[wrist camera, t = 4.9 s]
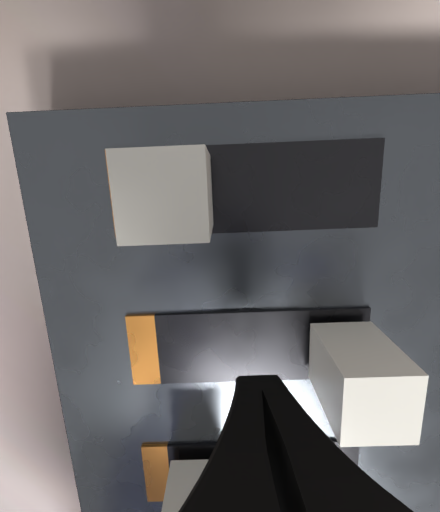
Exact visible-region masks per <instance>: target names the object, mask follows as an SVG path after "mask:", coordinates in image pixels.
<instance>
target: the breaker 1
mask: <svg viewBox="0 0 440 512" xmlns="http://www.w3.org/2000/svg"><path fill="white" fill-rule="evenodd" d="M105 151H106V160H107V168H108V176H109V184H110V192H111V201H112V209H113V217H114V225H115V234H116V242H117V246H140V245H167V244H194V243H210V239H211V234H212V229H213V202H212V180H211V157H210V154H209V152H208V150H207V147H206V145H205V144H200V145H177V146H153V147H130V148H106V149H105Z"/></svg>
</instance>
